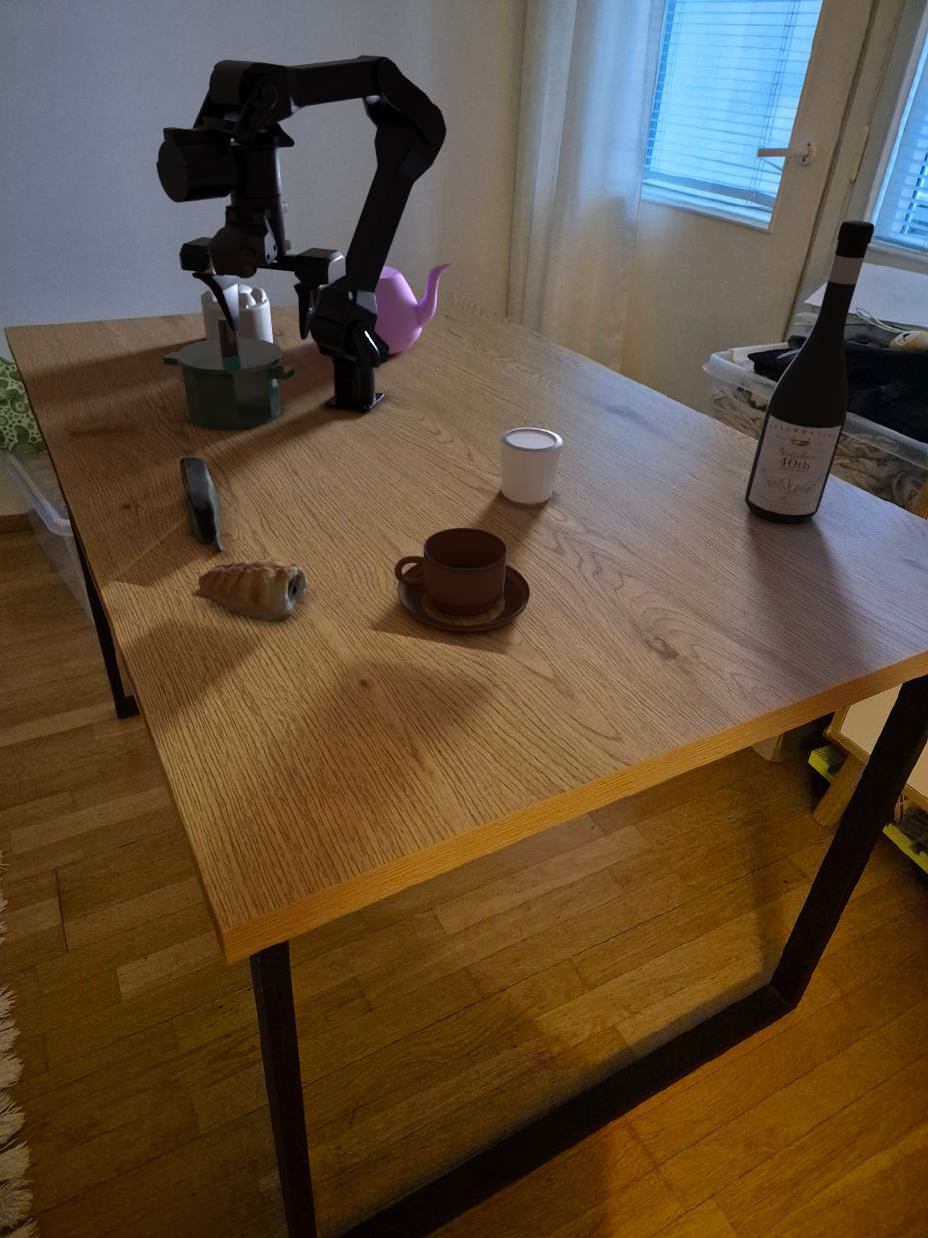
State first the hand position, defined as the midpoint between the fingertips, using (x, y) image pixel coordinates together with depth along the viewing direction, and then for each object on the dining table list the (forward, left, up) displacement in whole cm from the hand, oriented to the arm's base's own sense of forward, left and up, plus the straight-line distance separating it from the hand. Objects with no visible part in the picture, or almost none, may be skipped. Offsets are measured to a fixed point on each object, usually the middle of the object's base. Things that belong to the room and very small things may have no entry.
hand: (269, 334), depth 104 cm
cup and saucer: (+33, +34, -12) cm, 49 cm away
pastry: (+38, +16, -12) cm, 43 cm away
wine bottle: (+3, +63, -12) cm, 64 cm away
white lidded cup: (+9, +35, -12) cm, 38 cm away
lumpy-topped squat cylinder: (-30, -21, -12) cm, 39 cm away
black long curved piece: (+26, +4, -12) cm, 29 cm away
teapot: (-38, +1, -12) cm, 40 cm away
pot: (-3, -8, -12) cm, 15 cm away
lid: (-3, -7, -4) cm, 9 cm away
